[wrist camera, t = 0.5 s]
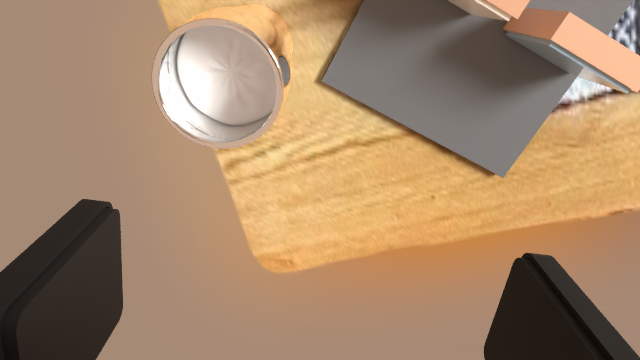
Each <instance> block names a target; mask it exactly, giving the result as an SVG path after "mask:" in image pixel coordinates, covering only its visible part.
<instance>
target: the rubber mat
mask: <svg viewBox="0 0 640 360" xmlns="http://www.w3.org/2000/svg"><path fill="white" fill-rule="evenodd" d="M632 1H633V0H530V1H529V3H528V4H527V6H526V7H525V8H533V9H544V10H555V11H566V12H571V13H572V14H574V15H575V16H577V17H579V18H580V19H582V20H583V21H585V22H586V23H588V24H590V25H591V26H593V27H594V28H596V29H598V30H599V31H601V32H602V33H604V34H605V35H608V34H609V33H610V31H611V30H612V28H613V27H614V26H615V24H616V23H617V22H618V20H619V19H620V18H621V16H622V15H623V13H624V12H625V11H626V9H627V8H628V7H629V5H630V4H631V2H632ZM506 23H507V21H504V20H499V19H493V18H487V17H481V16H475V15H471V14H469V13H468V12H466V11H464V10H463V9H461V8H459V7H458V6H456V5H454V4H453V3H451V2H449V1H448V0H363V2H362V4H361V6H360V8H359V10H358V12H357V14H356V16H355V17H354V19H353V21H352V23H351V25H350V27H349V29H348V31H347V33H346V34H345V36H344V38H343V40H342V42H341V44H340V46H339V48H338V50H337V52H336V53H335V55H334V57H333V59H332V61H331V63H330V65H329V67H328V69H327V71H326V73H325V74H324V76H323V78H322V80H321V81H322V82H323V83H325V84H327V85H329V86H331V87H333V88H335V89H337V90H338V91H340V92H342V93H344V94H346V95H348V96H350V97H352V98H354V99H355V100H357V101H359V102H361V103H363V104H365V105H367V106H369V107H370V108H372V109H374V110H376V111H378V112H380V113H382V114H384V115H386V116H387V117H389V118H391V119H393V120H395V121H397V122H399V123H401V124H403V125H404V126H406V127H408V128H410V129H412V130H414V131H416V132H418V133H419V134H421V135H423V136H425V137H427V138H429V139H431V140H433V141H435V142H436V143H438V144H440V145H442V146H444V147H446V148H448V149H450V150H452V151H453V152H455V153H457V154H459V155H461V156H463V157H465V158H467V159H468V160H470V161H472V162H474V163H476V164H478V165H480V166H482V167H484V168H485V169H487V170H489V171H491V172H493V173H495V174H497V175H499V176H500V177H502V178H503V177H504V176H505V175H506V173H507V172H508V170H509V169H510V168H511V166H512V165H513V164H514V162H515V161H516V159H517V158H518V157H519V155H520V154H521V153H522V151H523V150H524V149H525V147H526V146H527V144H528V143H529V142H530V140H531V139H532V138H533V136H534V135H535V134H536V132H537V131H538V129H539V128H540V127H541V125H542V124H543V123H544V121H545V120H546V119H547V117H548V116H549V114H550V113H551V112H552V110H553V109H554V108H555V106H556V105H557V104H558V102H559V101H560V99H561V98H562V97H563V95H564V94H565V93H566V91H567V90H568V89H569V87H570V86H571V84H572V83H573V82H574V80H575V79H576V78H577V76H574V75H572V74H569V73H568V72H566V71H564V70H563V69H561V68H559V67H558V66H556V65H554V64H553V63H551V62H549V61H548V60H546V59H544V58H543V57H541V56H539V55H538V54H536V53H534V52H533V51H531V50H529V49H528V48H526V47H524V46H523V45H521V44H519V43H518V42H516V41H514V40H513V39H511V38H509V37H508V36H506V35H505V34H506V32H507V31H505V30H503V28H504V26H505V25H506Z"/></svg>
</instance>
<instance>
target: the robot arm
mask: <svg viewBox="0 0 640 360" xmlns="http://www.w3.org/2000/svg"><path fill="white" fill-rule="evenodd" d="M122 309H123V291H122V262H121V231H120V213H119V210H117V209H113V207H112V205H111V203H110V202H104V201H96V200H88V199H82V200H81V201H79V202H78V203H77V204H76V205H75V206H74V207H73V208H72V209H71V210H69V211H68V212H67V213H66V214H65V215H64V216H63V217H62V218H60V219H59V220H58V221H57V222H56V223H55V224H54V225H53V226H52V227H51V228H49V229H48V230H47V231H46V232H45V233H44V234H43V235H42V236H41V237H39V238H38V239H37V240H36V241H35V242H34V243H33V244H31V245H30V246H29V247H28V248H27V249H26V250H25V251H24V252H23V253H21V254H20V255H19V256H18V257H17V258H16V259H15V260H14V261H12V262H11V263H10V264H9V265H8V266H7V267H6V268H5V269H4V270H2V271H1V272H0V360H96V358H97V356H98V355H99V353H100V352H101V350H102V348H103V347H104V345H105V343H106V342H107V340H108V338H109V337H110V335H111V333H112V332H113V330H114V328H115V326H116V325H117V323H118V321H119V320H120V317H121V314H122ZM484 358H485V360H640V358H639V356H638V355H637V354H636V353H635V352H634V351H633V349H632V348H631V347H630V346H629V345H628V343H627V342H626V341H625V340H624V339H623V338H622V336H621V335H620V334H619V333H618V332H617V331H616V330H615V328H614V327H613V326H612V325H611V324H610V323H609V321H608V320H607V319H606V318H605V317H604V316H603V314H602V313H601V312H600V311H599V310H598V309H597V307H596V306H595V305H594V304H593V303H592V302H591V300H590V299H589V298H588V297H587V296H586V295H585V293H584V292H583V291H582V290H581V289H580V288H579V287H578V285H577V284H576V283H575V282H574V281H573V280H572V278H571V277H570V276H569V275H568V274H567V273H566V271H565V270H564V269H563V268H562V267H561V266H560V264H559V263H558V262H557V261H556V260H555V259H554V258H553V257H552V256H549V255H541V254H532V253H525V254H524V255H523V256H522V257H521V258H517V259H516V260H515V261H514V263H513V266H512V268H511V271H510V274H509V277H508V280H507V282H506V285H505V288H504V291H503V294H502V297H501V299H500V302H499V305H498V308H497V311H496V314H495V316H494V319H493V322H492V325H491V328H490V331H489V334H488V337H487V339H486V342H485V346H484Z"/></svg>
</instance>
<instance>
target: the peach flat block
mask: <svg viewBox="0 0 640 360" xmlns="http://www.w3.org/2000/svg"><path fill="white" fill-rule="evenodd" d="M503 30H505V31H507V32H506V34H505V35H506V36H508V37H509V38H511V39H513V40H514V41H516V42H518V43H519V44H521V45H523V46H524V47H526V48H528V49H529V50H531V51H533V52H534V53H536V54H538V55H539V56H541V57H543V58H544V59H546V60H548V61H549V62H551V63H553V64H554V65H556V66H558V67H559V68H561V69H563V70H564V71H566V72H568V73H569V74H572V75H574V76H577V77H580V78H583V79H586V80H589V81H592V82H595V83H598V84H601V85H604V86H607V87H610V88H613V89H616V90H619V91H622V92H625V93H628V92H629V91H630V90H631V91H634V92H638V91H639V90H640V56H639V55H637V54H636V53H634V52H632V51H631V50H629V49H628V48H626V47H625V46H623V45H621V44H620V43H618V42H617V41H615V40H613V39H612V38H610V37H609V36H607V35H605V34H604V33H602V32H601V31H599V30H598V29H596V28H594V27H593V26H591V25H590V24H588V23H586V22H585V21H583V20H582V19H580V18H579V17H577V16H575V15H574V14H572V13H571V12H566V11H555V10H544V9H533V8H525V9H524V10H523V12H522V13H521V15H520V17H519V18H518V19H512V18H511V19H510V20H509V21H507V23H506V25H505V26H504V28H503Z"/></svg>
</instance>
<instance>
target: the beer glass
mask: <svg viewBox="0 0 640 360" xmlns="http://www.w3.org/2000/svg"><path fill="white" fill-rule="evenodd" d="M292 51H293V41H292V36H291V33H290V30H289V28H288V26H287V24H286V23H285V21H284V20H283V19H282V17H281V16H280V15H279V14H277V13H276V12H275V11H273V10H272V9H270V8H268V7H265V6H262V5H257V4H247V5H242V6H239V7H220V8H215V9H211V10H208V11H205V12H203V13H201V14H199V15H197V16H195V17H193V18H191V19H190V20H188V21H187V22H186V23H184V24H183V25H182V26H180V27H178V28H177V29H175V30H174V31H173V32H172V33H171V34H170V35H169V36H168V37H167V38H166V39H165V40H164V41H163V43H162V44H161V46H160V48H159V49H158V52H157V54H156V56H155V59H154V63H153V67H152V87H153V93H154V97H155V100H156V103H157V105H158V107H159V109H160V111H161V113H162V114H163V116H164V117H165V118H166V120H167V121H168V122H169V124H170V125H171V126H172V127H173V128H174V129H175V130H176V131H177V132H179V133H180V134H181V135H183V136H184V137H186V138H187V139H189V140H191V141H193V142H195V143H197V144H200V145H203V146H206V147H211V148H219V149H228V148H236V147H240V146H243V145H246V144H248V143H251V142H253V141H254V140H256V139H258V138H259V137H260V136H262V135H263V134H264V133H265V132H266V131H267V130H268V129H269V128H270V127H271V125H272V124H273V123H274V121H275V120H276V118H277V116H278V114H279V112H280V110H281V108H282V106H283V105H284V103H285V100H286V98H287V95H288V92H289V89H290V85H291V79H292V59H291V56H292Z"/></svg>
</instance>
